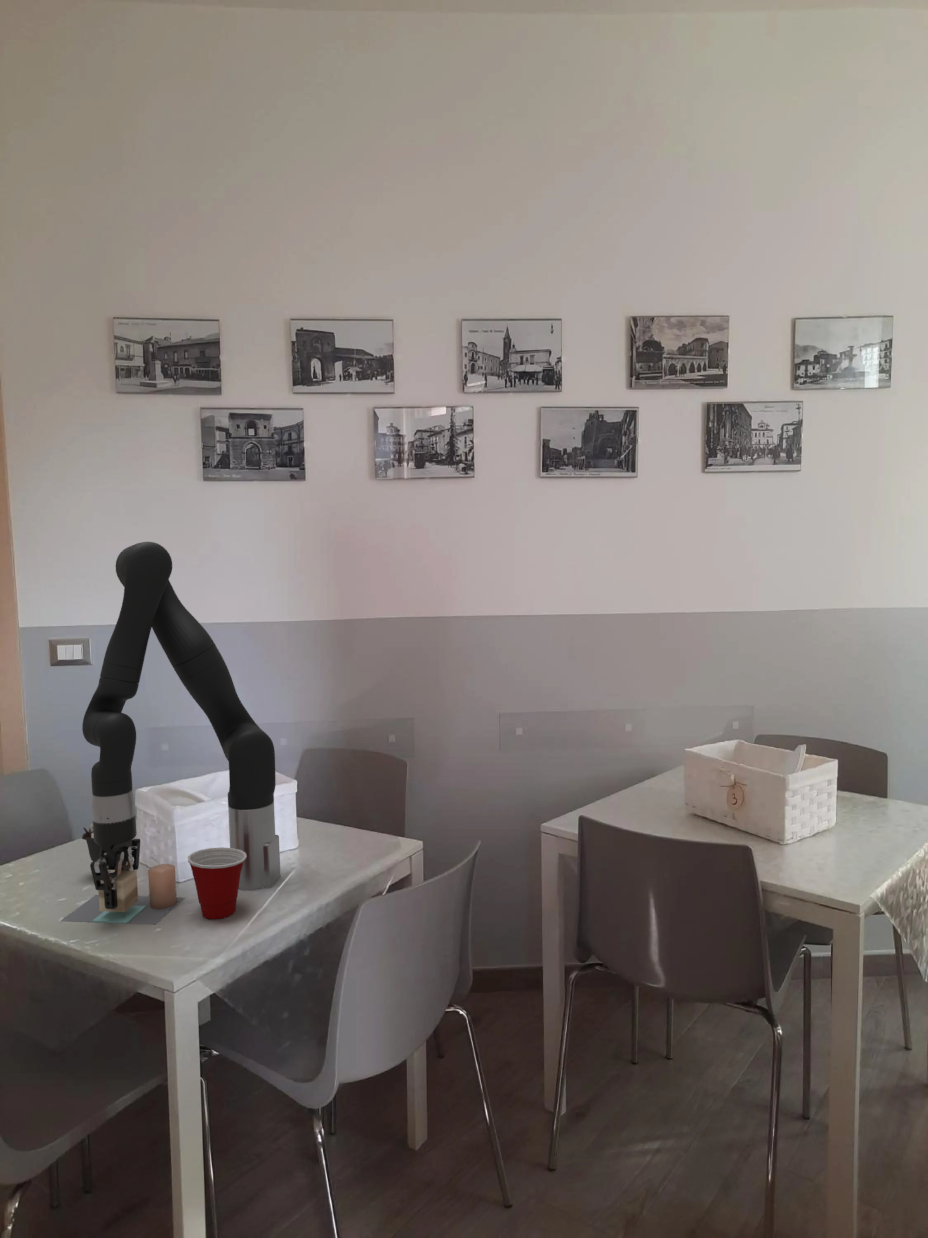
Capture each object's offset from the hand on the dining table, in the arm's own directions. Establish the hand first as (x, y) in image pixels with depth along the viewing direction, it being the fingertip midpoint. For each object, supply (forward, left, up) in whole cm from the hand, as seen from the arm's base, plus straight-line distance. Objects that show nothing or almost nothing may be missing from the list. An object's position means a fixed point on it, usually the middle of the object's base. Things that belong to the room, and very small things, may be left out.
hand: (119, 901), depth 160 cm
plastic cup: (-19, -2, -3) cm, 19 cm away
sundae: (+14, -17, -3) cm, 23 cm away
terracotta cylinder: (-6, -5, -3) cm, 9 cm away
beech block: (0, 0, -1) cm, 1 cm away
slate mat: (+1, -2, -3) cm, 4 cm away
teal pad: (0, 0, -3) cm, 3 cm away
